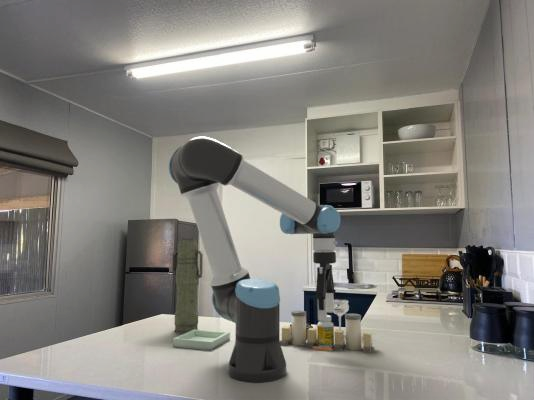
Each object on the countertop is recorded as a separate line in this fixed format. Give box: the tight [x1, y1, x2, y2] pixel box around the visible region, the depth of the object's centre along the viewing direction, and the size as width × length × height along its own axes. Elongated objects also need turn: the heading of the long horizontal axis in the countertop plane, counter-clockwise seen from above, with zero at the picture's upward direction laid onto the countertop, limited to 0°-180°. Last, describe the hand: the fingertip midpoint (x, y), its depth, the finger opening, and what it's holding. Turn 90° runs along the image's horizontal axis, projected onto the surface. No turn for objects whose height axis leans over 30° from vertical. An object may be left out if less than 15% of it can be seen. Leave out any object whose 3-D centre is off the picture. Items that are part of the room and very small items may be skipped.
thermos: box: [172, 238, 204, 334], centre depth 154 cm, size 9×12×35 cm
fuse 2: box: [344, 313, 362, 351], centre depth 127 cm, size 5×5×10 cm
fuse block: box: [280, 325, 373, 354], centre depth 129 cm, size 10×29×5 cm, turn 71°
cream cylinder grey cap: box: [290, 309, 307, 346], centre depth 133 cm, size 5×5×10 cm
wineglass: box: [334, 299, 350, 336], centre depth 147 cm, size 7×7×12 cm
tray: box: [172, 329, 231, 351], centre depth 133 cm, size 14×14×2 cm
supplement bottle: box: [316, 314, 335, 348], centre depth 130 cm, size 5×5×10 cm
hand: (326, 316), depth 131 cm, fingers open, 13 cm apart
